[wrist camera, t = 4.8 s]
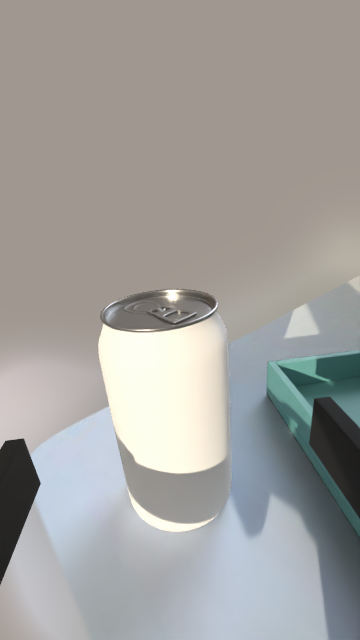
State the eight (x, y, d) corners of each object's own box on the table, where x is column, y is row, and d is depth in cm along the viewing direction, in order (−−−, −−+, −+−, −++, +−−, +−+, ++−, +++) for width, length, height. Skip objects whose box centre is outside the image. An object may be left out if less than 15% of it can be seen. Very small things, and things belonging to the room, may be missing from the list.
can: (181, 429, 22) (165, 281, 18) (252, 478, 18) (255, 297, 13) (109, 486, 18) (66, 312, 14) (179, 567, 14) (148, 350, 9)
